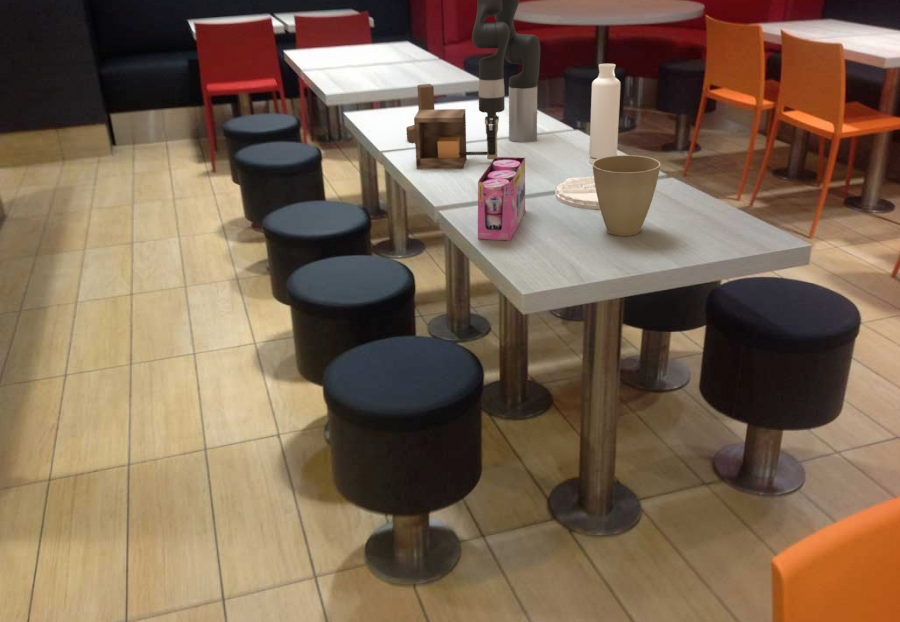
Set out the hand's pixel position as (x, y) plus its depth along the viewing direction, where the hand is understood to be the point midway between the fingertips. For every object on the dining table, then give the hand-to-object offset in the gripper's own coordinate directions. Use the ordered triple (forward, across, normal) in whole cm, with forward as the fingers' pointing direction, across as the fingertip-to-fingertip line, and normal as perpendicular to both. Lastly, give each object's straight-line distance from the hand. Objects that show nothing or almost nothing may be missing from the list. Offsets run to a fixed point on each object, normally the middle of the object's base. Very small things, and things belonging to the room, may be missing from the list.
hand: (492, 152), depth 250 cm
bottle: (+3, 0, -33) cm, 33 cm away
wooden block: (+3, +30, +26) cm, 39 cm away
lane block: (+2, 0, +7) cm, 7 cm away
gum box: (+4, -56, -6) cm, 56 cm away
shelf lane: (+3, 0, +15) cm, 16 cm away
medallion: (+4, -32, -29) cm, 43 cm away
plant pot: (+3, -61, -33) cm, 69 cm away
